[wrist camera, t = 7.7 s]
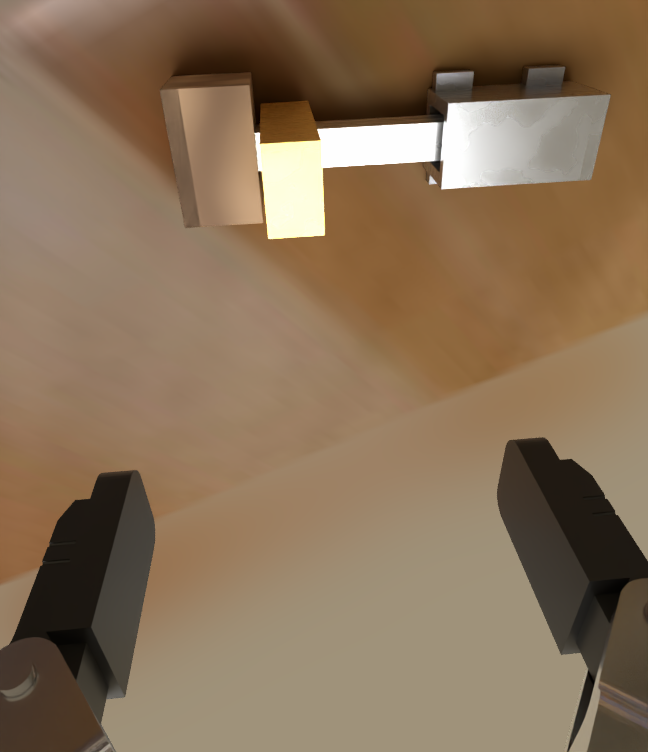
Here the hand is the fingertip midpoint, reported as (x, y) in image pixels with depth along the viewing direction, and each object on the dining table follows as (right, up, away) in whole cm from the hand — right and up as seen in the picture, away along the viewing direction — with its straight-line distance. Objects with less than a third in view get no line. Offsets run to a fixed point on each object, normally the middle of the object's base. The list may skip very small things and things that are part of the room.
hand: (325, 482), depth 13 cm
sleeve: (+11, +20, +27) cm, 35 cm away
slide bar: (+1, +18, +25) cm, 31 cm away
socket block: (-7, +18, +26) cm, 33 cm away
